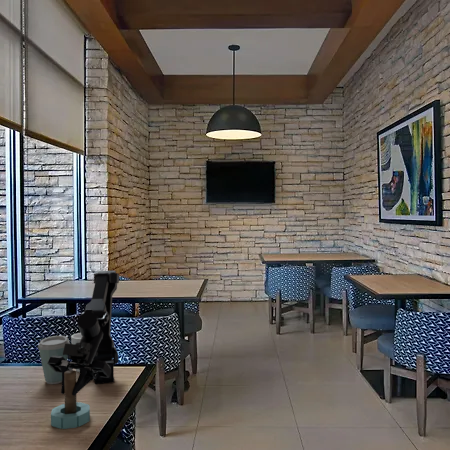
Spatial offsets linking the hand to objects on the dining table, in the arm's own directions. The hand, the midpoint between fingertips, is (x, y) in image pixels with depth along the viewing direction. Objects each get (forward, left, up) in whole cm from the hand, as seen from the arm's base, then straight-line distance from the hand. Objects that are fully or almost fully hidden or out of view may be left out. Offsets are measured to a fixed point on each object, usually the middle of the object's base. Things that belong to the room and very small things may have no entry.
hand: (67, 394), depth 133 cm
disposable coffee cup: (+6, -35, -8) cm, 37 cm away
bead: (-1, -1, -8) cm, 8 cm away
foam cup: (-4, -45, -8) cm, 46 cm away
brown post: (-1, -1, -7) cm, 7 cm away
